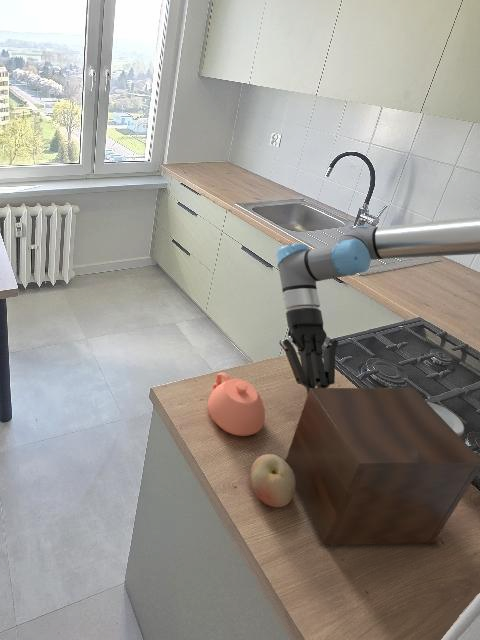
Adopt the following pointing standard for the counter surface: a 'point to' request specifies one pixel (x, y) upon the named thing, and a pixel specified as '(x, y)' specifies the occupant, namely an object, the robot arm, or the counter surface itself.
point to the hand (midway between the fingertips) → (322, 419)
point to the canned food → (449, 418)
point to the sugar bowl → (236, 406)
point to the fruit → (272, 480)
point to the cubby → (378, 466)
